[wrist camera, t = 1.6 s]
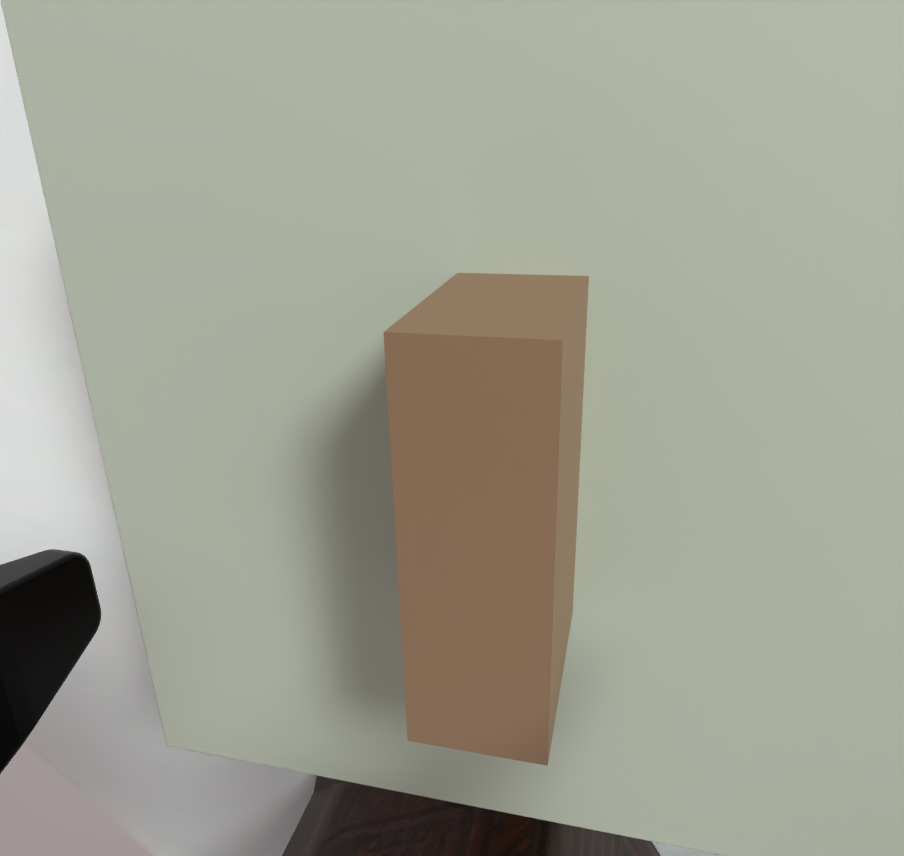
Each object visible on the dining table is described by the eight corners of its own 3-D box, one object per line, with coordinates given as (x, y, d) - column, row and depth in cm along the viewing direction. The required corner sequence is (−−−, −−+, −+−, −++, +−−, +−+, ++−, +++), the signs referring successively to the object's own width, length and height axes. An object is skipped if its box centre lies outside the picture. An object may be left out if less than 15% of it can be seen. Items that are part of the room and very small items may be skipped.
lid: (924, 810, 15) (1052, 1137, 10) (212, 687, 19) (60, 884, 14) (1225, -172, 9) (1901, -513, 4) (74, -63, 13) (-285, -173, 8)
